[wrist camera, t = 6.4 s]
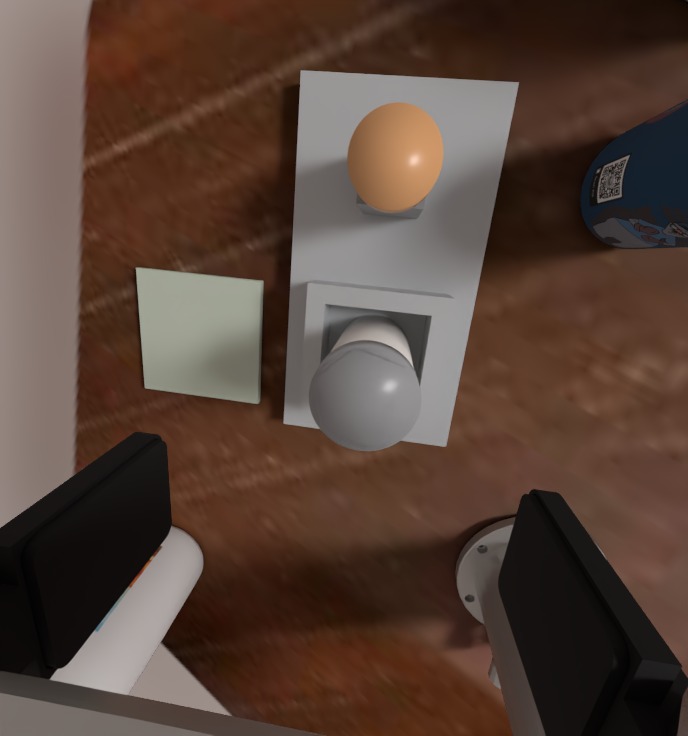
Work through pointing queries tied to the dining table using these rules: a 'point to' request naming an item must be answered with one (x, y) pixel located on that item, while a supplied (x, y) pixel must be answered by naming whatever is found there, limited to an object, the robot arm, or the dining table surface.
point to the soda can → (641, 185)
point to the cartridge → (367, 386)
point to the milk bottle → (137, 619)
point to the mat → (201, 334)
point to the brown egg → (395, 157)
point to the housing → (392, 233)
